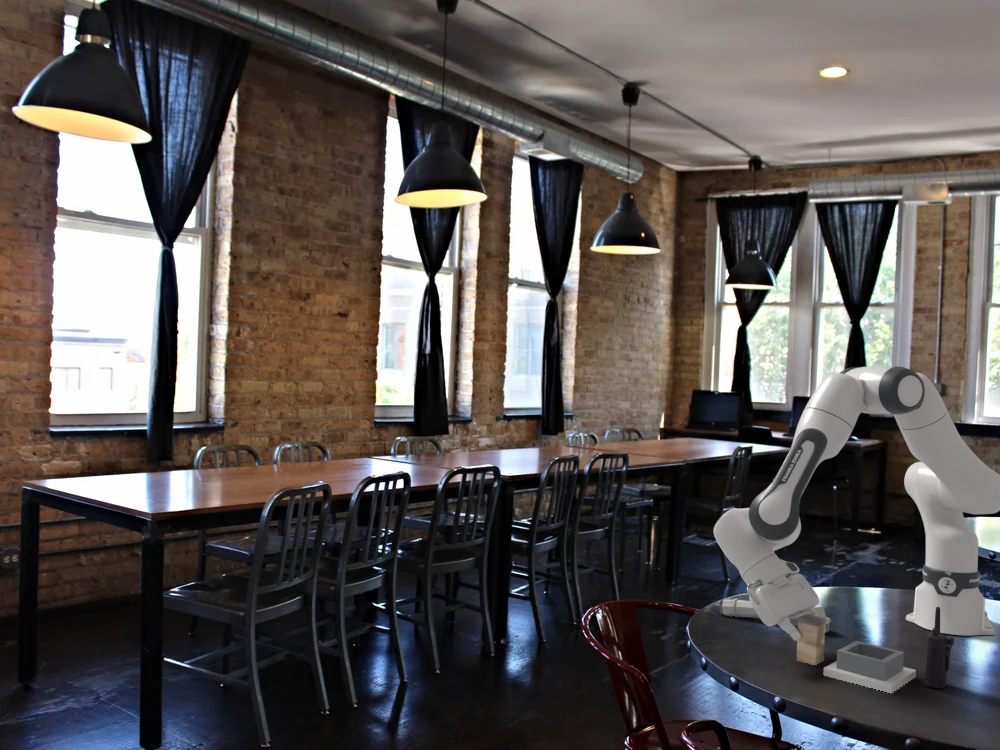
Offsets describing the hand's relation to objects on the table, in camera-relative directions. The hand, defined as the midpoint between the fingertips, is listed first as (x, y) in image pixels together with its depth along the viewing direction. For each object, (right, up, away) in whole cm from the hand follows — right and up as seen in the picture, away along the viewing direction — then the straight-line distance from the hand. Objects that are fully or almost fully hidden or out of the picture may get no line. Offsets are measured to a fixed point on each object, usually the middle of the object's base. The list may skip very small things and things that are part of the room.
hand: (809, 633), depth 183 cm
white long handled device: (+1, -6, +26) cm, 27 cm away
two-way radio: (+20, -7, -13) cm, 25 cm away
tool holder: (+9, -6, -8) cm, 14 cm away
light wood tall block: (0, -6, 0) cm, 6 cm away
